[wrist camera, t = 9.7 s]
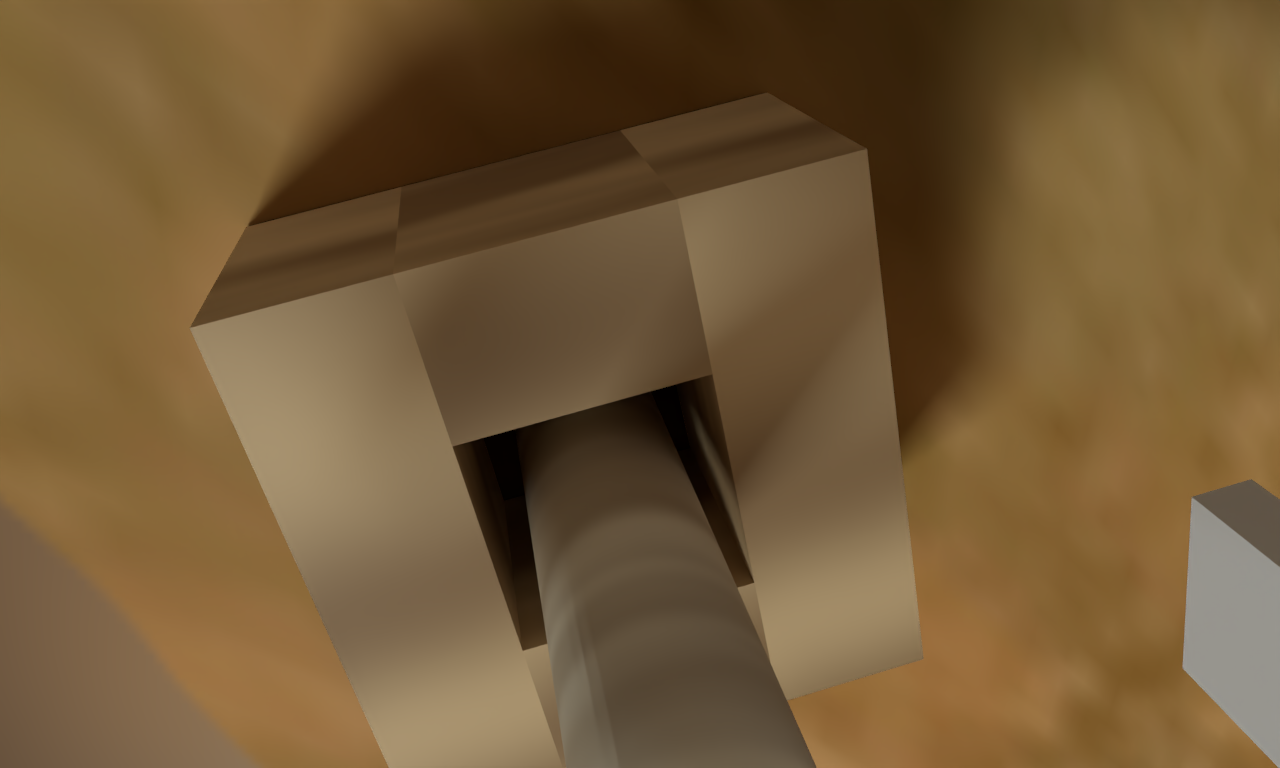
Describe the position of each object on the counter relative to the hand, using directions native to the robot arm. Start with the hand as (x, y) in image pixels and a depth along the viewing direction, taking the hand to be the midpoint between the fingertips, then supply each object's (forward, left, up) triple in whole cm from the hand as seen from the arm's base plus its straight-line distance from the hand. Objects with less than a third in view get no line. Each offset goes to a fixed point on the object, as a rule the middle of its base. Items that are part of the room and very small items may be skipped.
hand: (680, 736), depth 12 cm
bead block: (0, 0, -10) cm, 10 cm away
